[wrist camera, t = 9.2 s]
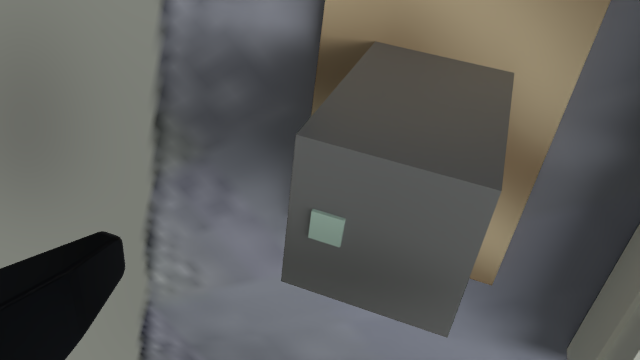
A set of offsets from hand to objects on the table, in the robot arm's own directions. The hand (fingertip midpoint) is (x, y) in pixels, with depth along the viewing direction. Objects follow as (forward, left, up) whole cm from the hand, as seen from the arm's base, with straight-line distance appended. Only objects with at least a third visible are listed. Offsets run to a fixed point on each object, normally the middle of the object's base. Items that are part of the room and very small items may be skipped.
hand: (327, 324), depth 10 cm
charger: (0, 0, -10) cm, 10 cm away
